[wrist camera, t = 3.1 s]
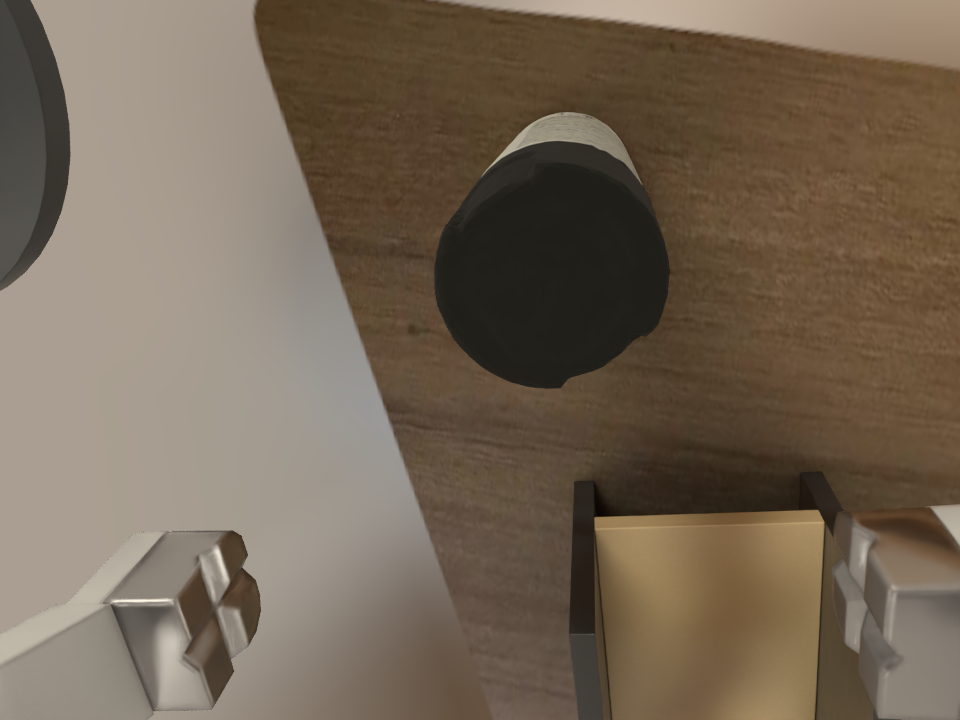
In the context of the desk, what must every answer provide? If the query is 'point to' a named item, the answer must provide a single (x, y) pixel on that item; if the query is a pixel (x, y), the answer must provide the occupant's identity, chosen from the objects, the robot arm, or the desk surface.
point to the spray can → (553, 256)
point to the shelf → (711, 615)
